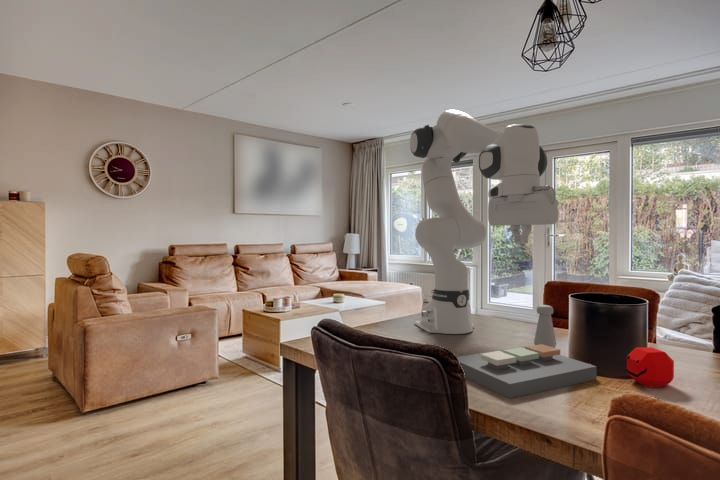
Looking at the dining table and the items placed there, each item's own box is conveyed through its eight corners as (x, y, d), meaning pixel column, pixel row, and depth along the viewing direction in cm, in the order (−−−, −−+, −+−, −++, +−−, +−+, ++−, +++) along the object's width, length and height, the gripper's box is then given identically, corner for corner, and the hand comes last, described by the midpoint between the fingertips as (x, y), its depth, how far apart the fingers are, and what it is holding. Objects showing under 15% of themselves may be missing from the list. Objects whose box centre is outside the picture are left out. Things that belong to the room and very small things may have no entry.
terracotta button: (525, 363, 106) (525, 346, 106) (541, 360, 109) (541, 344, 108) (543, 370, 101) (543, 352, 101) (560, 366, 103) (560, 349, 103)
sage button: (503, 367, 103) (503, 350, 103) (520, 364, 106) (520, 347, 106) (520, 374, 98) (520, 356, 98) (538, 370, 101) (538, 353, 101)
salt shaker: (558, 354, 118) (558, 307, 118) (536, 353, 119) (536, 306, 119) (553, 348, 124) (553, 304, 124) (532, 347, 125) (532, 303, 125)
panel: (450, 370, 106) (450, 358, 106) (529, 356, 116) (529, 345, 116) (509, 398, 88) (509, 384, 88) (596, 379, 98) (596, 366, 98)
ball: (620, 378, 99) (620, 345, 99) (653, 377, 99) (653, 344, 99) (646, 391, 91) (646, 355, 91) (681, 389, 91) (681, 354, 91)
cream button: (480, 371, 101) (480, 353, 100) (498, 368, 103) (498, 350, 103) (497, 379, 95) (497, 360, 95) (516, 375, 98) (516, 357, 98)
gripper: (564, 184, 99) (564, 244, 100) (501, 192, 118) (502, 242, 118) (544, 183, 97) (544, 244, 97) (483, 191, 116) (484, 242, 116)
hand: (520, 243), depth 108 cm, fingers closed
